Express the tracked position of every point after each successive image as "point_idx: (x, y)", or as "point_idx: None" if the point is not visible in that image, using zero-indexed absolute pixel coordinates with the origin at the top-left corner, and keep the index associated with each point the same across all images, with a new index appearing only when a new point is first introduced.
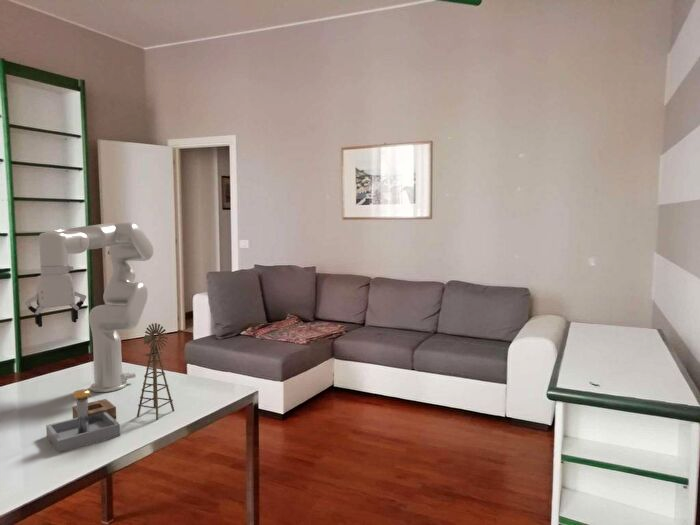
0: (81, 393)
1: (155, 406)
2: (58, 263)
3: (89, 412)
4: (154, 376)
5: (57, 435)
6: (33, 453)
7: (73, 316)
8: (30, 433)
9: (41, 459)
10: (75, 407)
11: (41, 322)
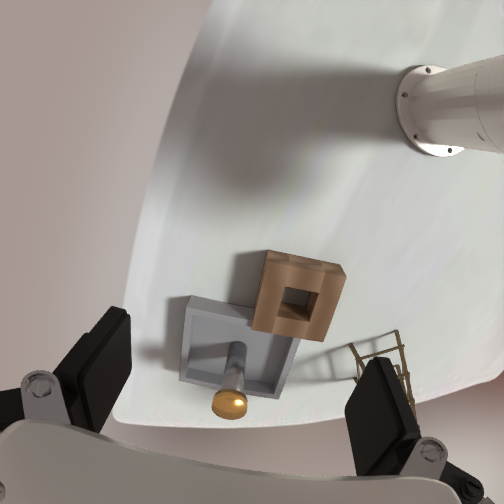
0: (223, 416)
1: (397, 333)
2: None
3: (271, 327)
4: (409, 392)
5: (185, 363)
6: (155, 340)
7: (353, 438)
8: (174, 255)
9: (159, 365)
10: (268, 273)
11: (117, 389)
